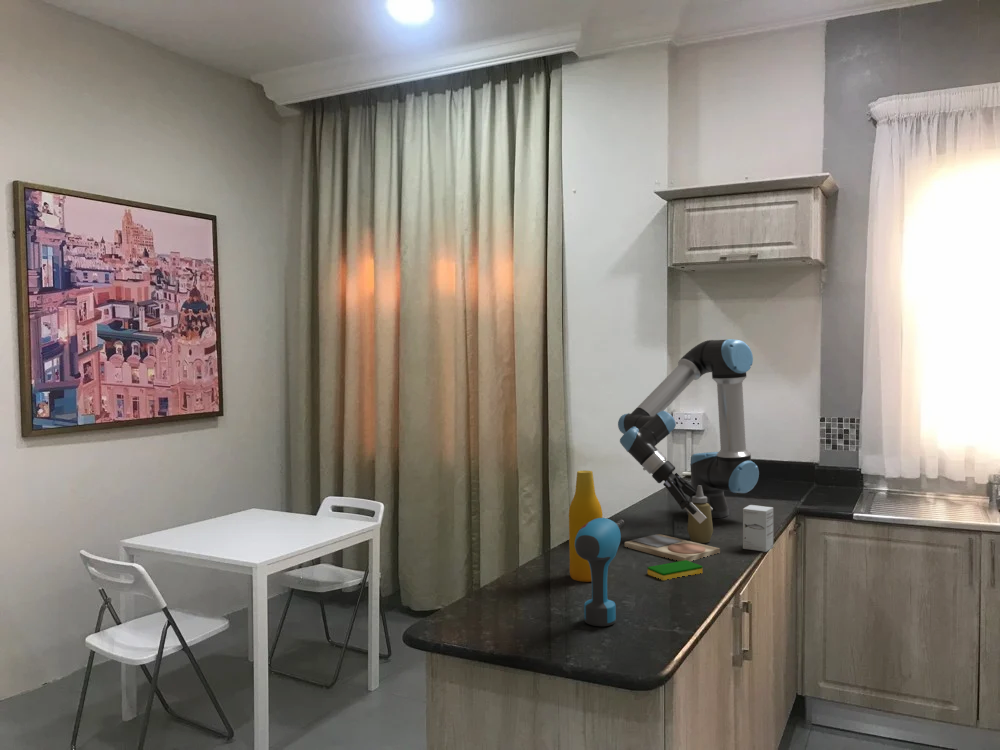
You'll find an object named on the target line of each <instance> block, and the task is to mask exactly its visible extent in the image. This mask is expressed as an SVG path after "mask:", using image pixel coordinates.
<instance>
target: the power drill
mask: <svg viewBox="0 0 1000 750" xmlns="http://www.w3.org/2000/svg"><path fill="white" fill-rule="evenodd" d="M624 525H625V521H624V520H623V519H622V518H620V519H619V520H617V521H616V522H615V521H614V520H611V519H610V518H605V517H602V518H597V519H594V520H592V521H590V522H588V523H587V524H585V525H584V526H583V527H581V529H580V530H579V531H578V533H577V535H576V539H575V549H576V552H577V554H578V555H579V556H580V557H581V558H583V559H585V560H588V562H589V565H590V569H591V578H592V582H591V599H587V600H586V601H585V602H584V604H583V606H584V607H583V610H584V611H583V612H584V614H583V618H584V622H585V623H586V624H588V625H590V626H593V627H610V626H612V625H614V624H615V623H616V621H617V618H616V617H617V615H616V614H617V613H616V608H617V607H616V603H615V601H614V600H611V599H608V572H609V571H608V570H609V567H610V564H611V562H612V561H613V560H614V559H615V558H616V555H617V553H618V549H619V546H620V544H621V538H622V536H621V535H622V534H621V530H620V528H621V527H623V526H624Z"/></svg>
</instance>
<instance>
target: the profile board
mask: <svg viewBox="0 0 1000 750" xmlns="http://www.w3.org/2000/svg"><path fill="white" fill-rule="evenodd" d="M627 547H628V549H631V550H634V551H635V550H636V551H639V552H643V553H646V554H650V555H653V556H657V557H662V558H664V557H665V559H668V558H669V560H672V559H673V560H672V561H676V560H677V561H676V562H678V561H684V560H687V561H690V562H693V560H694V561H697V560H700V558H701V559H704V558H703V557H705V558H708V557H711V556H710V555H712V556H715V555H714V554H716V555H718V554H717V553H719V554H720V553H721V549H720V547H715V546H711V545H707V544H704V543H695V542H692V541H691V540H686V539H683V538H677V537H673V536H669V535H666V534H665V535H664V534H661V533H657V534H651V535H647V536H643V537H639V538H635V539H631V540H628V541H624V548H627ZM707 556H708V557H707Z"/></svg>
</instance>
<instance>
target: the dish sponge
mask: <svg viewBox="0 0 1000 750" xmlns="http://www.w3.org/2000/svg"><path fill="white" fill-rule="evenodd" d="M700 573H701V574H703V565H700V564H698V563H694V562H693V561H687V560H684V561H674V562H669V563H663V564H657V565H651V566H647V575H648V576H651V577H654V578H655V577H656V579H658V578H659V580H660V579H661V581H668V580H667V579H669V580H673V579H672V578H675V579H678V578H677V577H680V578H683V577H682V576H685V577H689V576H688V575H691V576H696V575H700ZM695 574H696V575H695Z"/></svg>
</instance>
